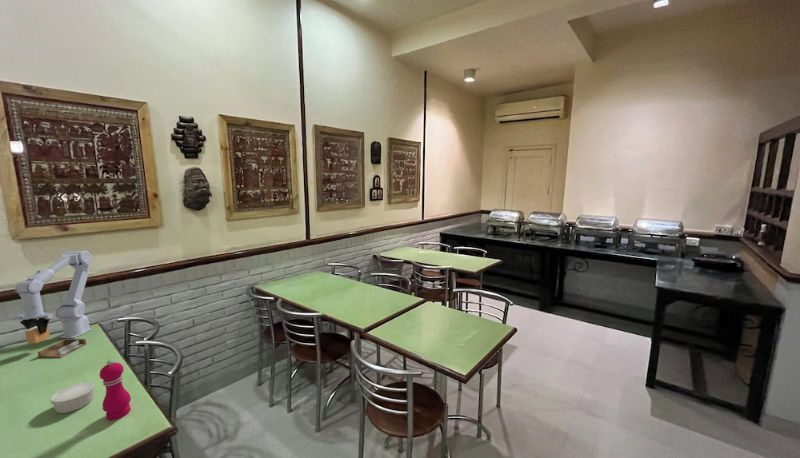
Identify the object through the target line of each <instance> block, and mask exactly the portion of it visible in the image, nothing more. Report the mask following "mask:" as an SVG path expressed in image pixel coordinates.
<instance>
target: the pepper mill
mask: <svg viewBox="0 0 800 458" xmlns="http://www.w3.org/2000/svg"><path fill="white" fill-rule="evenodd" d="M123 373H124V366H123V364H122V363H120V362H114V359H109V360H107V361H106V365H104V366H103V367H101V369H100V371H99V377H100V379H101V380H102V385H103V386H105V396H104V398H103V401H102V410H103V411H104V412H105V417H106V420H108V421H115V420H116V421H117V420H119V419H122V418H123V416H124V417H125V416H126V415H128V414H129V413H130V411H132V410H131V404H130V402H131V400H132V397H131V395H130V393H129V391H128V390H126V389H125V387H124V386H123V385H124V384H123V380H124V376H123Z"/></svg>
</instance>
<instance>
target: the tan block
mask: <svg viewBox="0 0 800 458" xmlns="http://www.w3.org/2000/svg"><path fill="white" fill-rule="evenodd" d="M24 333H25V337H26V342H27V344H38V343H40V342H42V341H44V340H46V339H49V338H50V337H51V334H50V329H49V325H47V330H46V332H45V333H43V334H40V333H39V330H38V327H37V326H35V327H33V328H30V329H28V330H27V329H26V330H24Z"/></svg>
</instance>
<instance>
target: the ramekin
mask: <svg viewBox="0 0 800 458" xmlns="http://www.w3.org/2000/svg"><path fill="white" fill-rule="evenodd" d="M95 386H96V384H95V383H94V382H90V381H86V382H78V383H75V384H71V385H70V386H67V387H64V388H62V389H60V390H59V391H57V392H56V393H54V394H53V395H52V396H51V397H50V398H49V399H50V400H49V401H50V403H51V404H52V406H53V408H54V411H56V413H59V414H69V413H72V412H76V411H78V410H81V409H83V408H85V407H86V406H87V405H89V404H90V403H91V402H92V401H93V399H94V397H95ZM88 403H89V404H88ZM85 405H86V406H85ZM77 409H78V410H77Z"/></svg>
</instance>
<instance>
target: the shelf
mask: <svg viewBox="0 0 800 458" xmlns="http://www.w3.org/2000/svg"><path fill="white" fill-rule="evenodd" d="M85 345H87V340H86V338H63V339H62V340H61V341H58V342H56V343H54V344H52V345H50V346H48V347H46V348H43V349H42V350H39V351H37V355H38V358H39V359H46V358H47V359H50V358H51V359H55V358H57V359H58V358H59V359H60V358H62V357H64V356H67V355H69V354H71V353H72V352H74V351H77V350H78V349H80V348H82V347H84V346H85Z"/></svg>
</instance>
